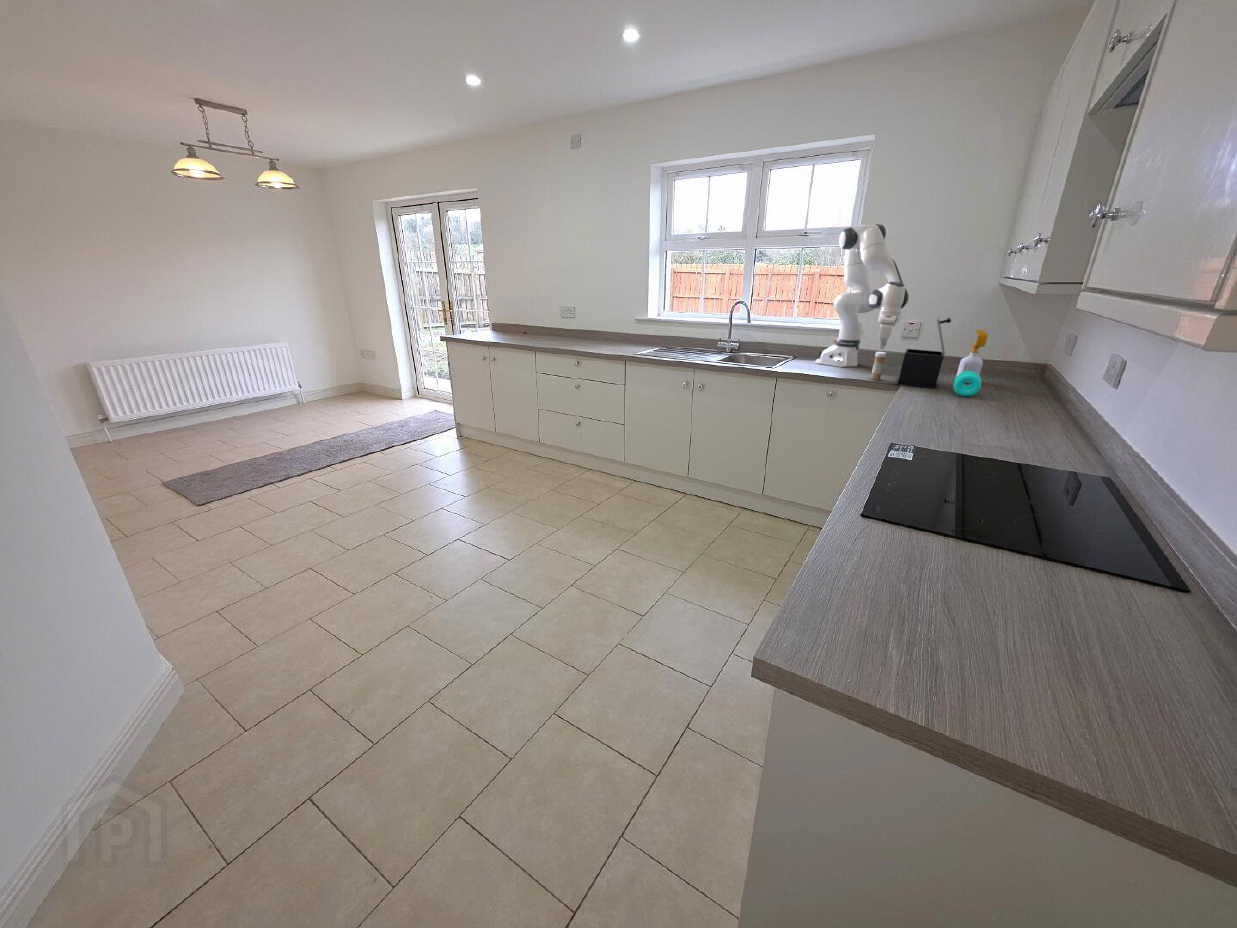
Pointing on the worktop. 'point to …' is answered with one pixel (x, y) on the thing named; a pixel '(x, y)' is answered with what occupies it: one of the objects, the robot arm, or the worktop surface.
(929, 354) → the black box
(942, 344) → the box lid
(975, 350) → the soap bottle
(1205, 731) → the worktop surface
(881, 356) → the sprinkles bottle
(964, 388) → the donuts
